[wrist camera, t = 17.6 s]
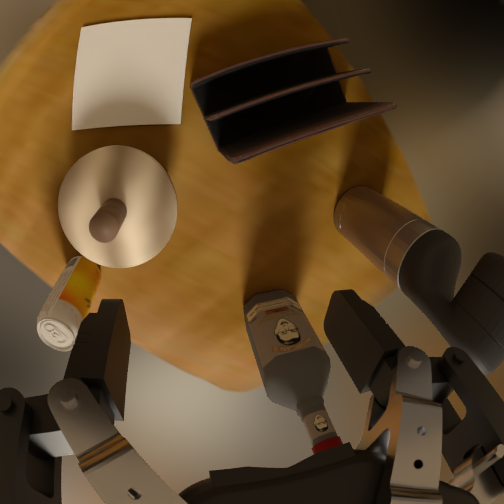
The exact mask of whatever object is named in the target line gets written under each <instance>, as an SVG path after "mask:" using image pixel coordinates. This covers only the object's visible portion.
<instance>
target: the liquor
mask: <svg viewBox="0 0 504 504" xmlns="http://www.w3.org/2000/svg"><path fill="white" fill-rule="evenodd" d="M244 315H245V322H246V329H247V333H248V336H249V339H250V343H251V346H252V349H253V352H254V356H255V359H256V362H257V365H258V368H259V371H260V375H261V378H262V381H263V384H264V387H265V390H266V393H267V396H268V397H269V399H270V400H271V401H272V402H274V403H277V404H279V405H282V406H284V407H287V408H290V409H292V410H295V411H296V412H297V415H298V416H300V417H301V420H302V422H303V424H304V427H305V429H306V431H307V434H308V436H309V439H310V441H311V443H312V446H313V448H312V451H313V453H314V454H316V453H317V452H319V451H323V450H326V449H329V448H333V447H336V446H339V445H342V444H343V443H342V441H341V439H340V437H338V436H337V434H336V431H335V429H334V427H333V425H332V422H331V420H330V418H329V416H328V413H327V411H326V409H325V407H324V400H323V395H324V392H325V390H326V387H327V383H328V378H329V373H330V358H329V357H328V355H327V353H326V351H325V350H324V348H323V346H322V344H321V342H320V340H319V339H318V337H317V335H316V333H315V331H314V330H313V328H312V326H311V324H310V323H309V321H308V319H307V317H306V315H305V314H304V312H303V310H302V308H301V307H300V305H299V303H298V301H297V300H296V298H295V296H293V295H291V294H290V293H288V292H286V291H285V290H282V289H280V290H276V291H271V292H266V293H261V294H257V295H254V296H253V297H252V298H251V299H250V300H249V301H248V302H247V303H246V304H245V306H244Z"/></svg>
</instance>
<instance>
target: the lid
mask: <svg viewBox="0 0 504 504" xmlns="http://www.w3.org/2000/svg"><path fill="white" fill-rule="evenodd" d="M58 214H59V219H60V223H61V226H62V229H63V231H64V233H65V235H66V237H67V239H68V240H69V242H70V243H71V244H72V245H73V247H74V248H75V249H76V250H77V251H78V252H79V253H80V254H82V255H83V256H84V257H86V258H87V259H89V260H91V261H92V262H95V263H97V264H99V265H103V266H106V267H112V268H128V267H133V266H137V265H140V264H142V263H144V262H146V261H148V260H150V259H151V258H153V257H154V256H156V255H157V254H158V253H159V252H160V251H161V250H162V249H163V248H164V247H165V245H166V244H167V242H168V241H169V239H170V237H171V235H172V233H173V230H174V227H175V224H176V219H177V197H176V192H175V189H174V186H173V183H172V181H171V179H170V177H169V175H168V173H167V172H166V170H165V169H164V168H163V167H162V166H161V164H160V163H159V162H158V161H156V160H155V159H154V158H153V157H152V156H150V155H149V154H147V153H145V152H143V151H141V150H139V149H136V148H133V147H129V146H123V145H112V146H105V147H102V148H98V149H96V150H94V151H92V152H89V153H87V154H86V155H84V156H83V157H81V158H80V159H79V160H78V161H77V162H76V163H75V164H74V165H73V166H72V167H71V168H70V169H69V171H68V172H67V174H66V176H65V178H64V180H63V182H62V185H61V188H60V191H59V197H58Z"/></svg>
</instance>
